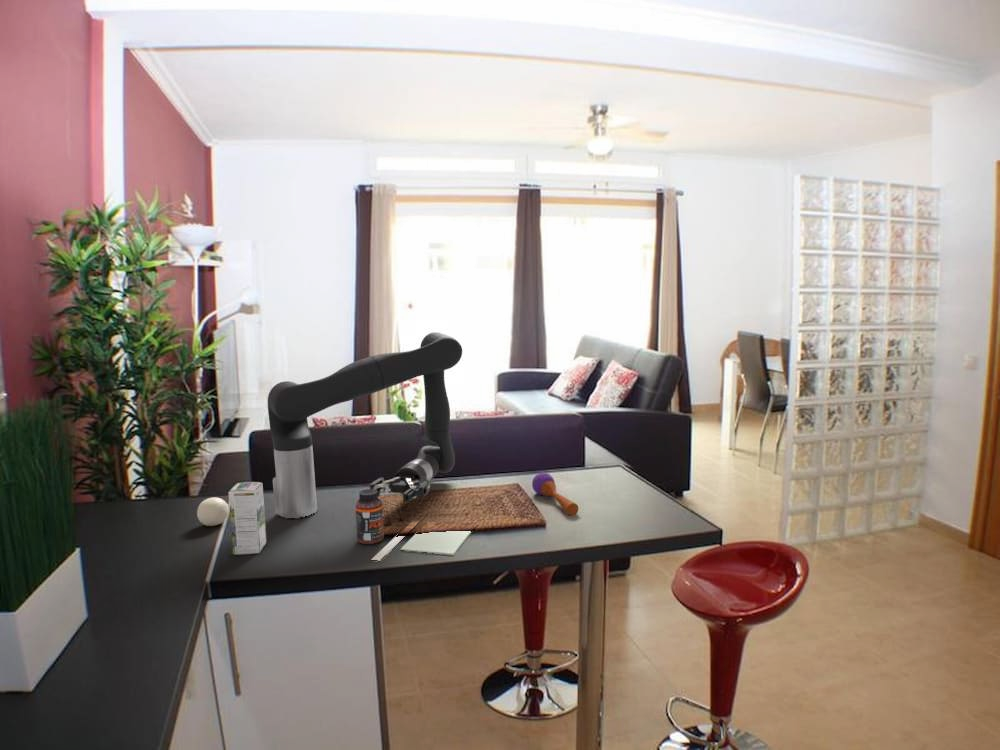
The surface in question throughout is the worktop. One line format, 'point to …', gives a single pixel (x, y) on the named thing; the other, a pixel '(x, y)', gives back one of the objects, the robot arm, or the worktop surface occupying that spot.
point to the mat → (437, 542)
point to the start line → (388, 548)
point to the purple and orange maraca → (552, 492)
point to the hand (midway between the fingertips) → (387, 497)
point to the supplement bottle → (369, 517)
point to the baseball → (212, 511)
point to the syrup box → (247, 518)
